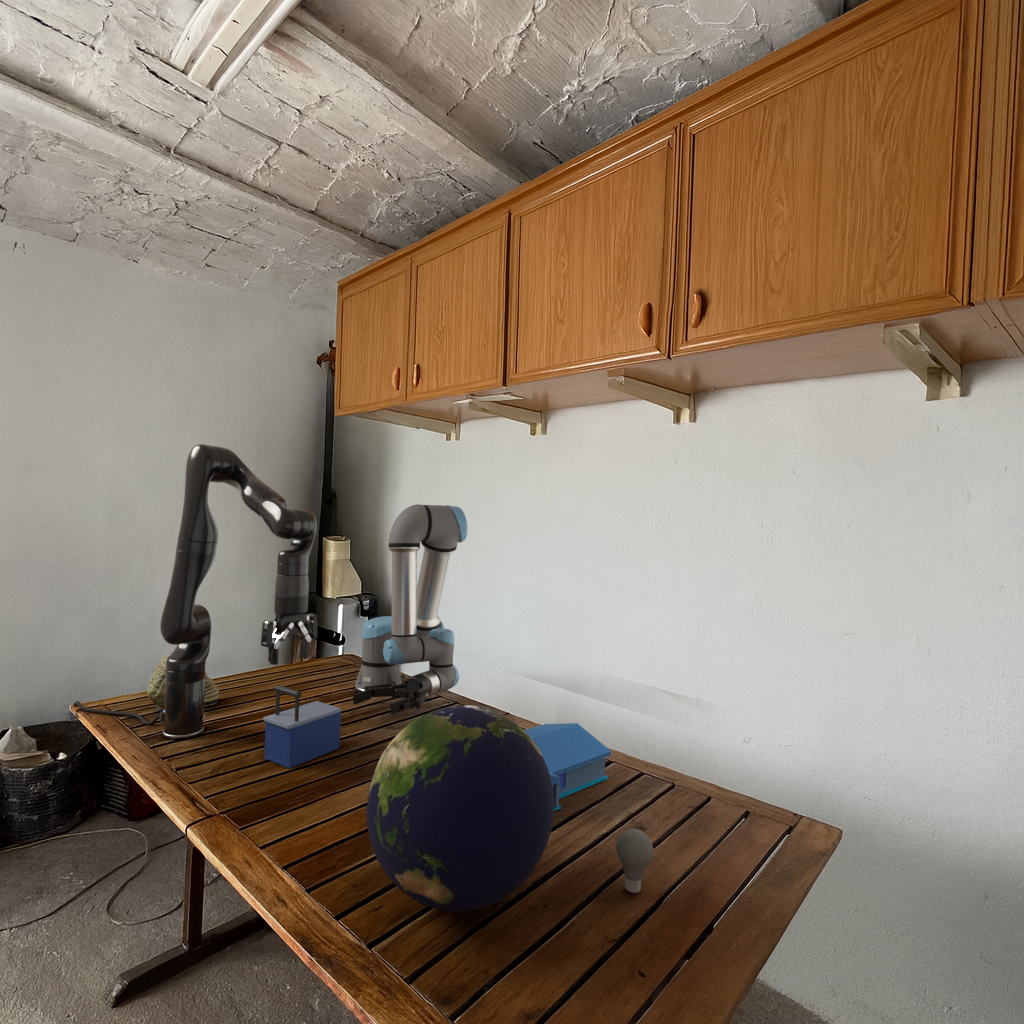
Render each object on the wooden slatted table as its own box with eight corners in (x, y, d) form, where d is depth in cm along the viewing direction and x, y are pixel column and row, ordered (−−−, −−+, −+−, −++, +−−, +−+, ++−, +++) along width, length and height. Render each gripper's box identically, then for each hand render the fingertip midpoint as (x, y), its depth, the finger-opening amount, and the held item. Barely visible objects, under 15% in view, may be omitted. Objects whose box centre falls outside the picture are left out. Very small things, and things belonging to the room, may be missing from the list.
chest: (289, 768, 147) (290, 728, 147) (264, 758, 152) (265, 719, 152) (339, 748, 160) (341, 711, 159) (315, 739, 165) (316, 704, 164)
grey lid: (288, 729, 146) (289, 695, 146) (263, 720, 151) (264, 687, 151) (341, 711, 159) (342, 680, 159) (316, 703, 164) (317, 673, 164)
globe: (322, 922, 94) (330, 722, 94) (423, 829, 122) (430, 674, 122) (507, 988, 83) (517, 762, 83) (572, 869, 111) (580, 699, 110)
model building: (490, 838, 120) (492, 786, 120) (417, 791, 138) (419, 745, 138) (619, 783, 146) (621, 740, 146) (544, 749, 164) (545, 711, 164)
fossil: (144, 707, 182) (145, 655, 182) (212, 696, 194) (213, 647, 194) (151, 716, 175) (153, 662, 175) (221, 703, 188) (223, 653, 188)
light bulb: (610, 879, 108) (613, 822, 108) (644, 879, 109) (647, 822, 109) (619, 902, 102) (622, 840, 102) (655, 901, 103) (658, 840, 103)
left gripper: (276, 598, 143) (273, 669, 143) (326, 591, 155) (323, 658, 155) (255, 594, 147) (253, 663, 147) (305, 588, 159) (303, 652, 159)
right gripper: (454, 707, 185) (407, 727, 167) (389, 690, 198) (338, 708, 179) (455, 681, 185) (408, 699, 167) (390, 666, 198) (339, 682, 179)
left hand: (289, 660), depth 151 cm, fingers open, 8 cm apart
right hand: (372, 704), depth 173 cm, fingers open, 13 cm apart
